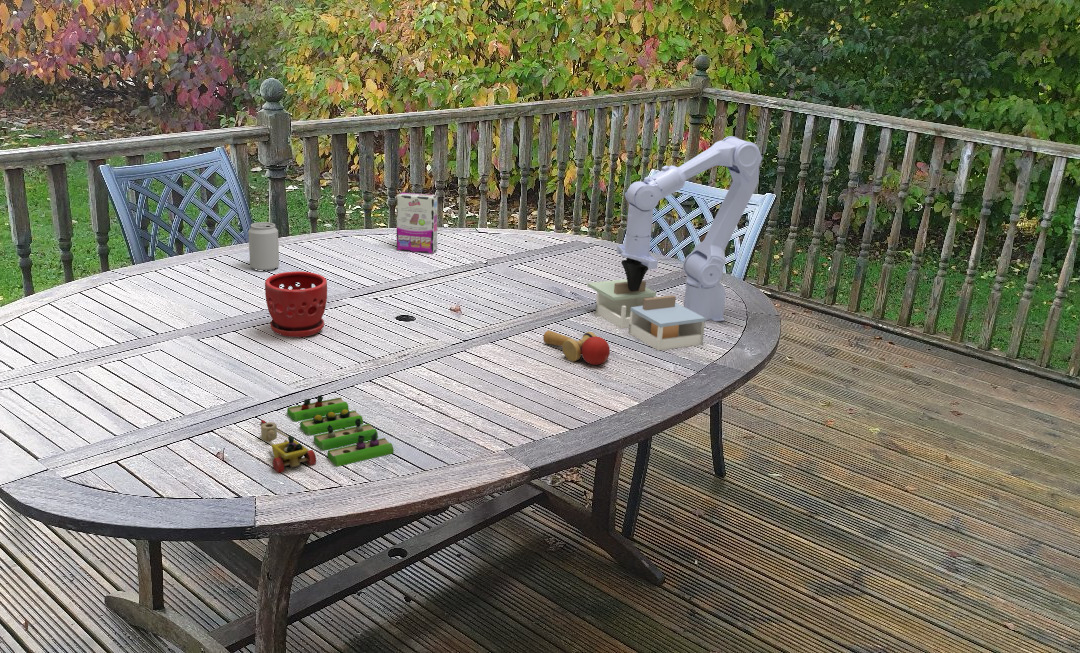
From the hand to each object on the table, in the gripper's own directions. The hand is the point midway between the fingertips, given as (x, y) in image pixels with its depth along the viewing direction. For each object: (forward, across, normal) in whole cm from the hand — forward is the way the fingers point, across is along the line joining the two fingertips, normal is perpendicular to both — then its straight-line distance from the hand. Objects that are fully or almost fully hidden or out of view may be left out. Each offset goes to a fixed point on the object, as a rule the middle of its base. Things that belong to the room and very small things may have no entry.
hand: (633, 290), depth 230 cm
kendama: (+8, +15, -24) cm, 29 cm away
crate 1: (+8, -1, 0) cm, 8 cm away
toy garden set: (+9, +34, -86) cm, 93 cm away
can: (+8, -70, -71) cm, 100 cm away
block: (+7, +16, -2) cm, 17 cm away
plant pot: (+8, -19, -75) cm, 78 cm away
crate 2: (+8, +14, 0) cm, 16 cm away
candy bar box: (+8, -76, -26) cm, 80 cm away
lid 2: (+2, +14, 0) cm, 15 cm away
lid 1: (+2, -5, 0) cm, 6 cm away
